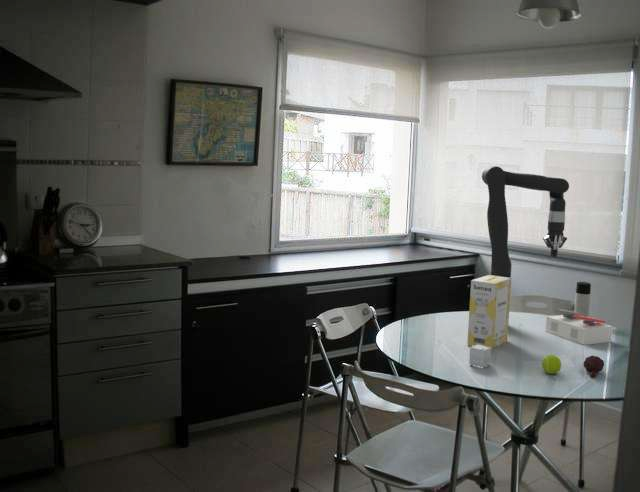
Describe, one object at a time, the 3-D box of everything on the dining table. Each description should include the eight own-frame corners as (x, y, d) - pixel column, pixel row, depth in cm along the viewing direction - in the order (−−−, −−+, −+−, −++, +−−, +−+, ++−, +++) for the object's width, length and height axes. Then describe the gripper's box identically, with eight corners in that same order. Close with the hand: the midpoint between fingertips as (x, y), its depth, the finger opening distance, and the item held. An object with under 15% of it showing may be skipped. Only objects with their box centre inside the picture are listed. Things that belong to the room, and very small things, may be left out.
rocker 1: (561, 313, 326) (562, 310, 326) (553, 311, 331) (554, 307, 331) (584, 317, 332) (584, 314, 332) (576, 315, 337) (576, 312, 337)
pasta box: (490, 349, 301) (494, 283, 297) (467, 345, 307) (471, 280, 303) (507, 341, 315) (511, 277, 312) (484, 336, 322) (488, 274, 318)
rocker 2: (581, 320, 315) (582, 316, 315) (572, 317, 320) (573, 313, 319) (604, 324, 321) (605, 321, 321) (595, 321, 325) (596, 318, 325)
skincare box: (476, 362, 283) (477, 344, 282) (490, 365, 279) (491, 347, 278) (468, 365, 278) (469, 347, 277) (483, 369, 274) (484, 350, 273)
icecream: (583, 350, 281) (579, 363, 268) (603, 348, 277) (600, 361, 264) (587, 367, 282) (583, 381, 268) (607, 365, 278) (604, 379, 265)
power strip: (583, 344, 313) (584, 326, 312) (545, 331, 334) (546, 313, 333) (611, 341, 319) (612, 323, 318) (572, 328, 341) (573, 311, 340)
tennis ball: (556, 370, 275) (558, 353, 274) (563, 376, 268) (564, 358, 267) (538, 370, 274) (539, 352, 273) (544, 376, 267) (546, 358, 266)
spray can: (585, 321, 355) (589, 281, 353) (589, 325, 349) (592, 284, 346) (571, 321, 356) (575, 281, 353) (575, 324, 349) (578, 283, 347)
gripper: (561, 219, 346) (559, 255, 349) (539, 220, 341) (537, 256, 343) (573, 221, 339) (570, 257, 342) (550, 221, 334) (548, 258, 336)
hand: (553, 256), depth 342 cm, fingers closed
